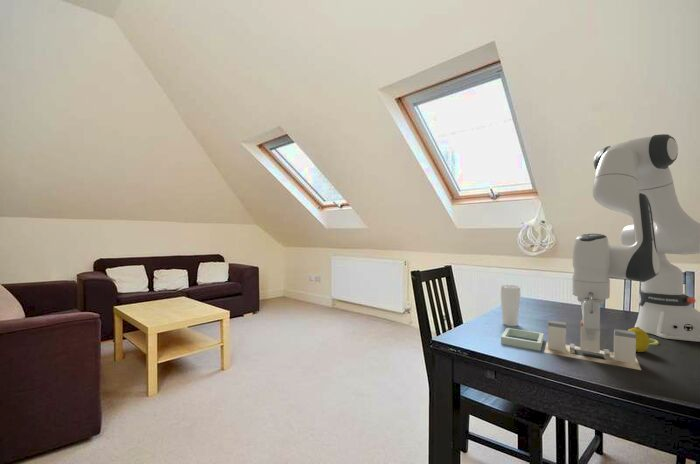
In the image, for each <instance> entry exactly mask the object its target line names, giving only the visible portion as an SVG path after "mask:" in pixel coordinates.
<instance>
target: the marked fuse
mask: <svg viewBox="0 0 700 464" xmlns="http://www.w3.org/2000/svg"><path fill="white" fill-rule="evenodd" d="M579 341H580V343H579V344H580V346H579V347H580V350H579V351H582V350H584V351H583V352H588V351H590V352H589V353H594V352H596V353H595V354H600V350H601V347H600V346H601V344H600V343H601V328H600V329H599V331H595V334H594V340H593V341H591V340H587V338H586V329H584V328H583V319H581V320H580V339H579Z"/></svg>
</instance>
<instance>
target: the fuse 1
mask: <svg viewBox="0 0 700 464" xmlns="http://www.w3.org/2000/svg"><path fill="white" fill-rule="evenodd" d="M547 327H548V328H547V330H548V331H547V334H548V335H547V342H548V349H553V350H558V351H564V352H566V345H567V322H564V321H558V320H556V321H555V320H551V319H550V320H548V326H547Z"/></svg>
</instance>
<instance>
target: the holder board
mask: <svg viewBox="0 0 700 464" xmlns="http://www.w3.org/2000/svg"><path fill="white" fill-rule="evenodd" d="M575 350H576V351H583V352H585V351H584V350H580V346H577V345H575ZM587 352H589V353H591V352H590V351H587ZM609 352H610V360H605V359H602V358H596V357H591V356H586V355H579V354H576V353H575V354H572V353H570V344H566V352H564V351H558V350H553V349H548V341H546V343H545V348H544V351H543V353H545V354H551V355H556V356H560V357H561V356H562V357H568V358H572V359H578V360H583V361H588V362H594V363H599V364H605V365H610V366H617V367H622V368H628V369H634V370H638V371H642V368H641V365H640V363H639V361H638V359H637V358H636V362H635V364H633V363H627V362H621V361H615V360H614V357H613V356H614V351H609ZM593 353H594V354H597V353H596V352H593ZM599 354H601V355H604V350H601V349H600V353H599Z"/></svg>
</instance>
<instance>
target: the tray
mask: <svg viewBox="0 0 700 464" xmlns="http://www.w3.org/2000/svg"><path fill="white" fill-rule="evenodd" d="M544 336H545V334H544V332H537V331H530V330H524V329H518V328H512V327H506V328H505V330H504V332H503V333H502V334H501V337H500V344H501V345H506V346H514V347H518V348H523V349H528V350H535V351H541V350H542V347H543V344H544V338H545V337H544Z"/></svg>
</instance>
